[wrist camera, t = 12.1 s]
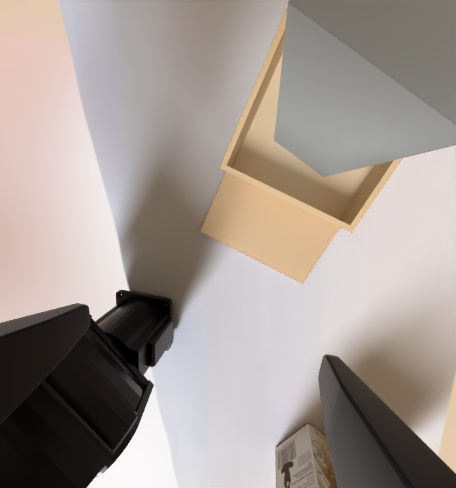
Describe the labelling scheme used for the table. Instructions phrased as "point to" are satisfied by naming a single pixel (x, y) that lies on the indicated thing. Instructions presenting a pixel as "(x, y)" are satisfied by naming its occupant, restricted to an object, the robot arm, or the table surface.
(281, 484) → the coffee box
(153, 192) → the table surface
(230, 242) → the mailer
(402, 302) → the table surface
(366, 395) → the robot arm
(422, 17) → the slate block
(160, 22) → the table surface
